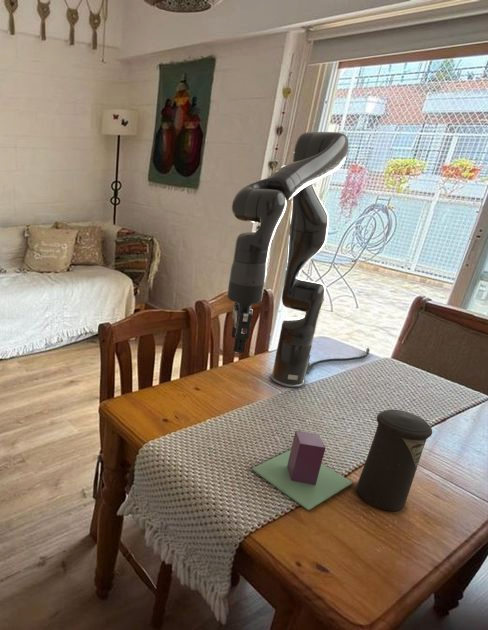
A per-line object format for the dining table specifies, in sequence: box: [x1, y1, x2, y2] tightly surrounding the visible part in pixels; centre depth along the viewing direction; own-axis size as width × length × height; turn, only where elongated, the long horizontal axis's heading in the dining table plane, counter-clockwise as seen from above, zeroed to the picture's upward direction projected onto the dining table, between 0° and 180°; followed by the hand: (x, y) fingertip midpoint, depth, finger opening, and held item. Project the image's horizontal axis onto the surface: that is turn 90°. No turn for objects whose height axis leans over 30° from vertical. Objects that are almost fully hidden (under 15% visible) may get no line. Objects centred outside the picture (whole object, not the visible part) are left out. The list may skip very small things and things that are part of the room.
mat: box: [251, 449, 353, 511], centre depth 99 cm, size 16×14×1 cm
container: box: [356, 409, 433, 512], centre depth 90 cm, size 9×9×20 cm
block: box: [287, 430, 326, 485], centre depth 97 cm, size 5×5×10 cm
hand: (237, 344), depth 105 cm, fingers open, 8 cm apart
